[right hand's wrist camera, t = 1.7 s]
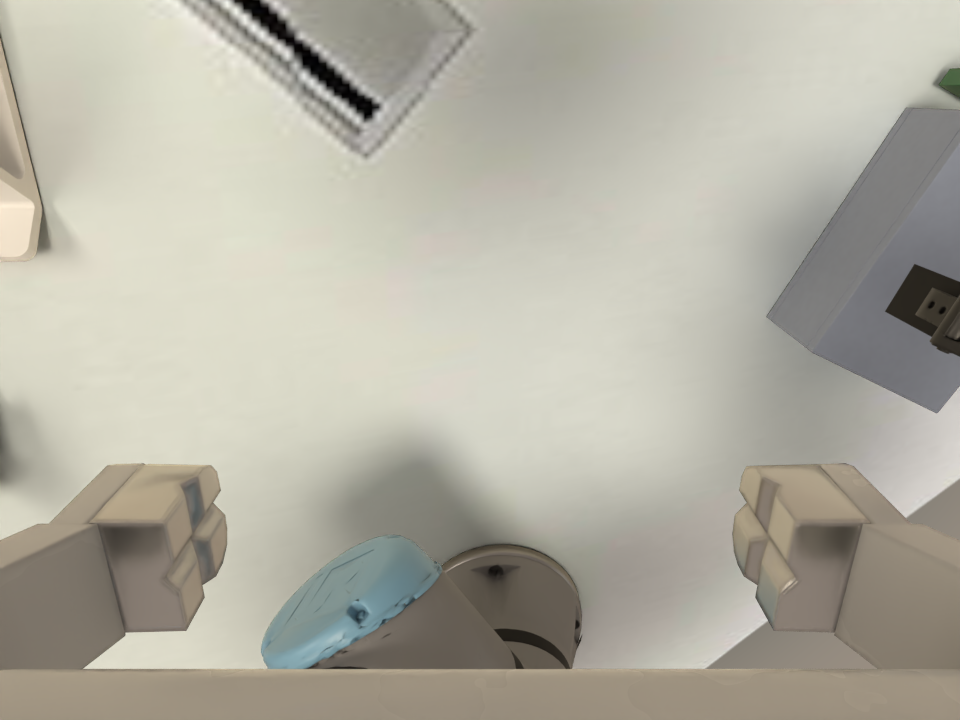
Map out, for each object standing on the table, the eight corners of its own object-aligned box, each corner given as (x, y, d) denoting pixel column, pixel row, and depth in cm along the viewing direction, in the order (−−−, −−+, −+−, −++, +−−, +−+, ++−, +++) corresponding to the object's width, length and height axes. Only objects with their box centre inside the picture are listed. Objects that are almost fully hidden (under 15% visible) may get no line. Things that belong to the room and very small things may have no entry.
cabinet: (905, 107, 48) (982, 110, 41) (1024, 175, 50) (1119, 190, 42) (766, 316, 54) (811, 352, 46) (876, 371, 55) (937, 413, 48)
